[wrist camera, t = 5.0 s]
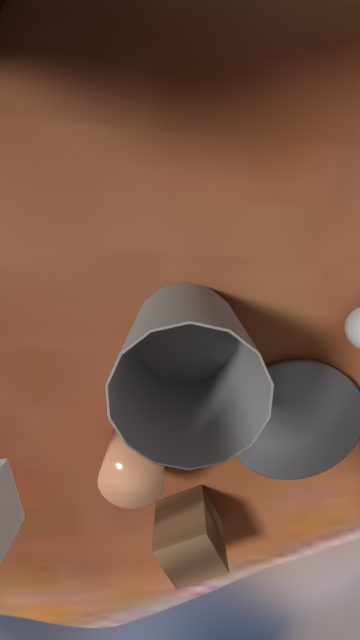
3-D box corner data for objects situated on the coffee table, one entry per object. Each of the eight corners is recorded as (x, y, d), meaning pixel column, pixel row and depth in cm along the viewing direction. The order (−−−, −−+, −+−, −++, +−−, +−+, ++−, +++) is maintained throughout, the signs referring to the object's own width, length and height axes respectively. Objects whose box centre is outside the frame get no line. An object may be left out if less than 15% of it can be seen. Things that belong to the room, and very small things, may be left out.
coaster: (223, 364, 25) (224, 368, 24) (366, 353, 25) (372, 357, 24) (227, 476, 29) (228, 483, 28) (353, 468, 28) (357, 475, 28)
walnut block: (156, 500, 30) (151, 552, 25) (201, 483, 29) (206, 534, 24) (177, 534, 31) (176, 589, 26) (221, 518, 30) (229, 572, 26)
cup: (249, 296, 23) (297, 344, 14) (222, 386, 26) (247, 480, 16) (143, 272, 23) (118, 305, 13) (125, 367, 25) (93, 452, 16)
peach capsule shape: (108, 417, 27) (92, 459, 22) (163, 413, 27) (160, 454, 22) (116, 462, 28) (103, 510, 23) (168, 459, 28) (166, 506, 23)
